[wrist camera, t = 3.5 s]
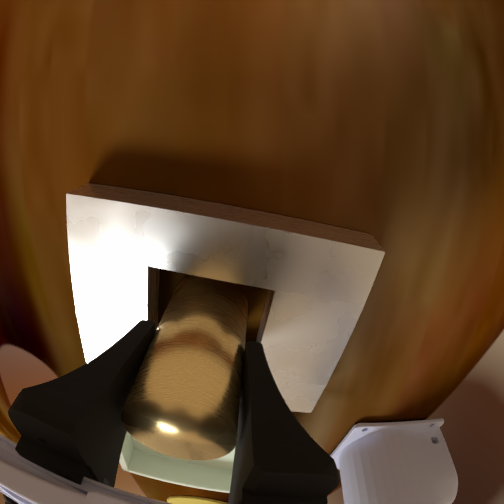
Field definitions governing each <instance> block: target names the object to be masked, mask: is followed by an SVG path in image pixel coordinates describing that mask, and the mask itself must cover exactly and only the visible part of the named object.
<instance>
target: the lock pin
mask: <svg viewBox="0 0 504 504" xmlns="http://www.w3.org/2000/svg"><path fill="white" fill-rule="evenodd" d="M247 316H248V300H247V297H246V295H245V293H244V291H243V289H242V288H241V287H240V286H239V285H238V284H237V283H231V282H226V281H221V280H215V279H210V278H205V277H200V276H194V275H188V276H187V277H185V278H184V279H182V280H181V281H180V282H179V284H178V285H177V287H176V289H175V291H174V293H173V295H172V297H171V299H170V301H169V304H168V306H167V308H166V310H165V312H164V314H163V317H162V319H161V321H160V323H159V325H158V328H157V330H156V332H155V334H154V337H153V339H152V341H151V343H150V346H149V348H148V350H147V352H146V355H145V357H144V359H143V362H142V364H141V366H140V369H139V371H138V373H137V376H136V378H135V381H134V383H133V385H132V388H131V390H130V393H129V395H128V397H127V400H126V402H125V405H124V407H123V410H122V412H121V421H122V423H123V425H124V427H125V429H126V430H127V431H128V433H129V434H130V435H131V436H132V437H134V438H135V439H136V440H137V441H139V442H140V443H142V444H143V445H145V446H147V447H148V448H150V449H152V450H154V451H157V452H159V453H162V454H165V455H168V456H171V457H175V458H180V459H186V460H212V459H217V458H220V457H223V456H225V455H227V454H229V453H230V452H232V450H233V449H234V448H235V446H236V442H237V431H238V419H239V408H240V396H241V385H242V373H243V360H244V350H245V339H246V327H247Z"/></svg>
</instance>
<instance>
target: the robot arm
mask: <svg viewBox="0 0 504 504" xmlns="http://www.w3.org/2000/svg"><path fill="white" fill-rule="evenodd" d="M154 334H155V322H152V321H147V320H143V319H142V320H140V321H139V322H138V323H137V324H136V325H135V326H134V327H133V328H131V329H130V330H129V331H128V332H127V333H126V334H125V335H124V336H122V337H121V338H120V339H119V340H118V341H117V342H115V343H114V344H113V345H112V346H110V347H109V348H108V349H107V350H105V351H104V352H102V353H101V354H100V355H98V356H97V357H96V358H94V359H93V360H91V361H90V362H88V363H86V364H85V365H83V366H81V367H79V368H78V369H76V370H74V371H72V372H70V373H68V374H66V375H64V376H62V377H59V378H57V379H54V380H52V381H49V382H46V383H43V384H39V385H36V386H32V387H28V388H24V389H22V391H21V392H20V393H19V394H18V396H17V398H16V399H15V401H14V402H13V404H12V406H11V407H10V409H9V411H8V414H9V417H10V419H11V421H12V422H13V424H14V425H15V427H16V428H17V430H18V431H19V433H20V434H21V438H20V440H19V442H18V444H16V443H14V442H12V441H11V440H9V439H7V438H6V437H4V436H2V435H1V434H0V491H1V492H2V493H3V494H5V495H6V496H8V497H9V498H11V499H13V500H14V501H16V502H17V503H19V504H172V503H167V502H163V501H159V500H155V499H151V498H147V497H143V496H140V495H136V494H133V493H129V492H126V491H123V490H120V489H117V488H114V484H115V479H116V474H117V469H118V464H119V460H120V455H121V451H122V447H123V443H124V439H125V435H126V432H127V430H126V429H125V427H124V425H123V423H122V421H121V412H122V410H123V407H124V405H125V402H126V400H127V397H128V395H129V393H130V390H131V388H132V385H133V383H134V381H135V378H136V376H137V373H138V371H139V369H140V366H141V364H142V362H143V359H144V357H145V355H146V352H147V350H148V348H149V346H150V343H151V341H152V339H153V337H154ZM443 423H444V420H443V418H440V419H431V420H419V421H405V422H384V423H358V424H356V425H354V426H353V427H352V429H351V430H350V431H349V433H348V434H347V435H346V436H345V438H344V439H343V440H342V441H341V443H340V444H339V445H338V446H337V448H336V449H335V450H334V451H333V452H332V454H331V455H329V454H328V453H326V452H325V451H324V450H323V449H322V448H321V447H320V446H319V445H318V444H317V443H316V442H315V441H314V440H313V439H312V438H311V437H310V435H309V434H308V433H307V432H306V431H305V429H304V428H303V427H302V426H301V424H300V423H299V422H298V420H297V419H296V418H295V416H294V415H293V413H292V412H291V410H290V409H289V407H288V405H287V404H286V402H285V400H284V398H283V397H282V395H281V393H280V391H279V389H278V387H277V385H276V383H275V380H274V378H273V375H272V373H271V371H270V368H269V365H268V362H267V359H266V356H265V353H264V349H263V345H262V344H261V343H259V342H253V341H247V342H246V346H245V350H244V360H243V373H242V385H241V396H240V408H239V419H238V431H237V442H236V446H235V454H234V462H233V470H232V478H231V486H230V493H229V500H228V504H327V495H328V494H329V493H331V492H332V491H333V490H334V489H335V488H336V487H337V486H338V485H339V474H338V470H337V469H340V475H341V482H342V490H343V497H344V504H452V502H453V501H454V499H455V497H456V493H457V488H458V478H457V473H456V470H455V467H454V464H453V461H452V459H451V456H450V453H449V450H448V448H447V445H446V443H445V440H444V437H443V435H442V432H441V430H440V427H441V426H442V424H443Z"/></svg>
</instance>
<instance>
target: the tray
mask: <svg viewBox="0 0 504 504" xmlns="http://www.w3.org/2000/svg"><path fill="white" fill-rule="evenodd" d="M234 454H235V448H234V449H233V450H232V452H230V453H229V454H227V455H225V456H223V457H220V458H217V459H212V460H186V459H180V458H175V457H171V456H168V455H165V454H162V453H159V452H157V451H154V450H152V449H150V448H148V447H147V446H145V445H143V444H142V443H140V442H139V441H137V440H136V439H135V438H134V437H132V436H131V435H130V434H129V433H128V431H127V432H126V435H125V439H124V443H123V447H122V451H121V455H120V460H119V462H120V465H121V467H122V469H123V470H125V471H128V472H131V473H135V474H138V475H142V476H145V477H149V478H153V479H157V480H161V481H165V482H169V483H174V484H178V485H183V486H188V487H194V488H199V489H205V490H211V491H218V492H226V493H230V486H231V478H232V470H233V462H234Z"/></svg>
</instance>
